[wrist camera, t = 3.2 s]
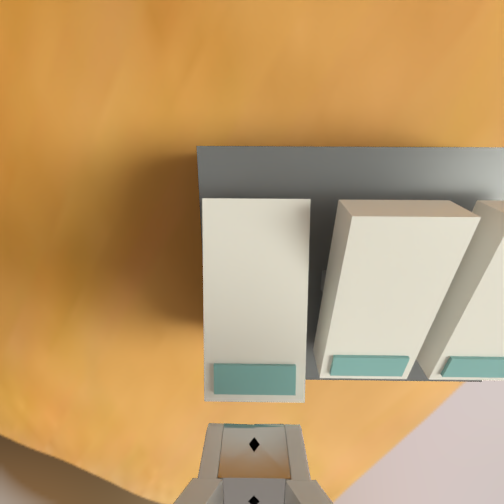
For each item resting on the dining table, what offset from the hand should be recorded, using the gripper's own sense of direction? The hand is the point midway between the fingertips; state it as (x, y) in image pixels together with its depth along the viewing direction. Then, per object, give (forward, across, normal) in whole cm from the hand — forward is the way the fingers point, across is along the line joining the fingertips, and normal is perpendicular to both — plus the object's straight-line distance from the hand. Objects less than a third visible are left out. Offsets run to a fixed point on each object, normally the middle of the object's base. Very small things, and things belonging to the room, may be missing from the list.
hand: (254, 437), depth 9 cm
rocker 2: (+3, -5, -3) cm, 7 cm away
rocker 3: (+3, -10, -3) cm, 11 cm away
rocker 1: (+3, 0, -3) cm, 5 cm away
